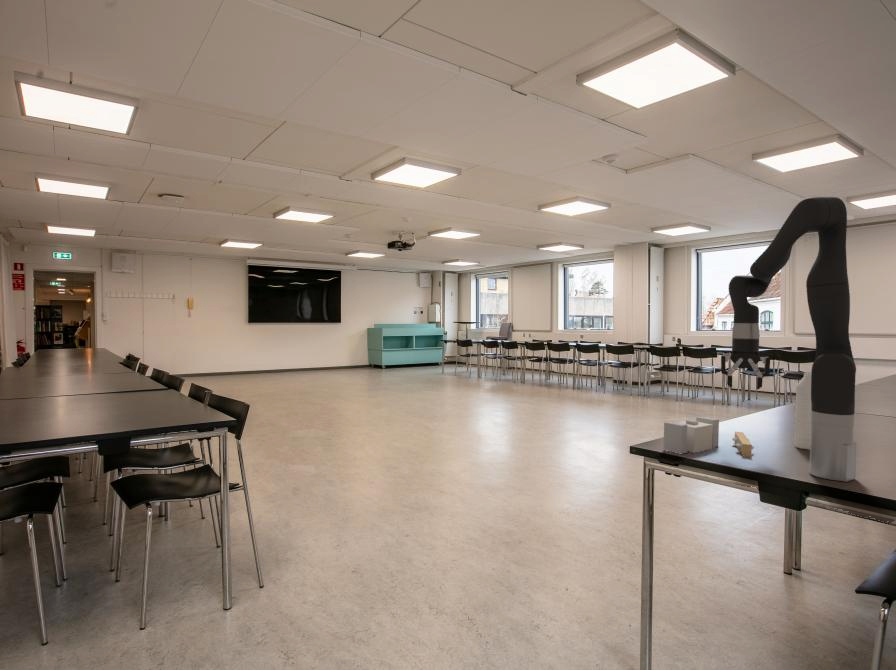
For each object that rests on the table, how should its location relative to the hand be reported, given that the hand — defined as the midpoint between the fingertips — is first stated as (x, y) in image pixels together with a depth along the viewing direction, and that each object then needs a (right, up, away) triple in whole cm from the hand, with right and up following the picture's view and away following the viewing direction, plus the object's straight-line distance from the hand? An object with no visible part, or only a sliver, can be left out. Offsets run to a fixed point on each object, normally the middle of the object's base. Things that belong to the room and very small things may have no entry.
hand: (744, 388), depth 165 cm
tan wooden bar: (0, -20, 0) cm, 20 cm away
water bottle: (+24, -20, +4) cm, 31 cm away
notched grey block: (-17, -20, 0) cm, 26 cm away
